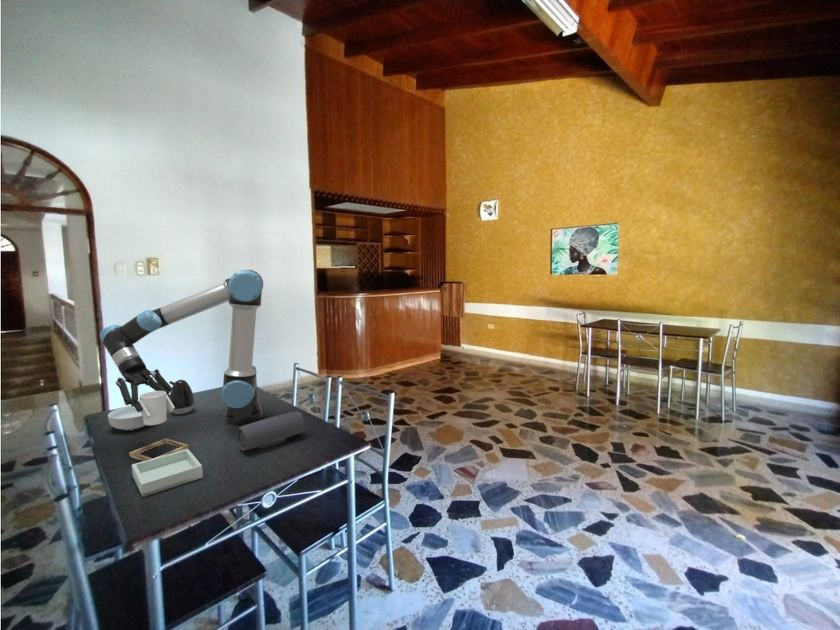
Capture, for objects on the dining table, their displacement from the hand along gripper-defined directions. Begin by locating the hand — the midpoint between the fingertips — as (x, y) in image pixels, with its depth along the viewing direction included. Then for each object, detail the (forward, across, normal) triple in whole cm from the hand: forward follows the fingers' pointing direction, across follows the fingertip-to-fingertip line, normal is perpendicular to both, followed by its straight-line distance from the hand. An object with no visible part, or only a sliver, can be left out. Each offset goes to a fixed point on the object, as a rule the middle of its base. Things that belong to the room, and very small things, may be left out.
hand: (160, 413), depth 142 cm
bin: (+22, +8, 0) cm, 23 cm away
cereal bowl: (-14, -10, -37) cm, 41 cm away
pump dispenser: (-13, -29, -36) cm, 48 cm away
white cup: (0, 0, -5) cm, 5 cm away
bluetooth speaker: (+30, -24, +8) cm, 39 cm away
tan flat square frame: (+8, -1, -14) cm, 16 cm away
